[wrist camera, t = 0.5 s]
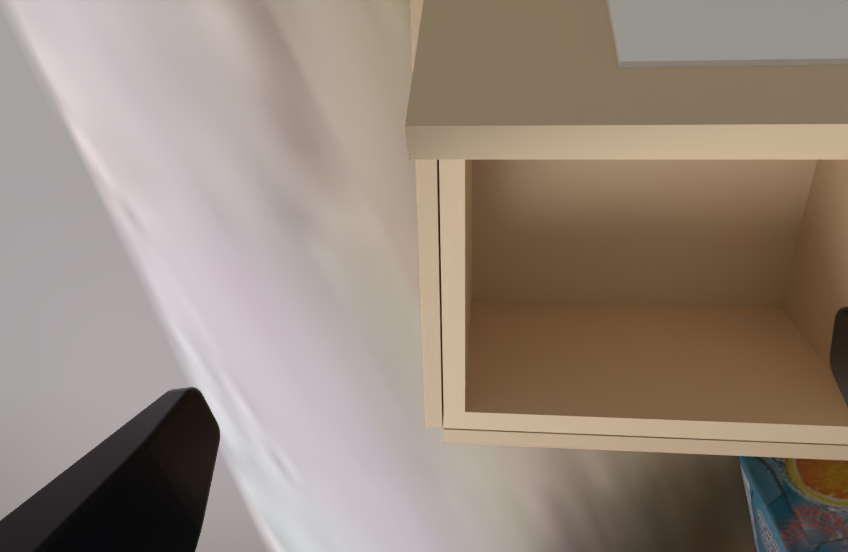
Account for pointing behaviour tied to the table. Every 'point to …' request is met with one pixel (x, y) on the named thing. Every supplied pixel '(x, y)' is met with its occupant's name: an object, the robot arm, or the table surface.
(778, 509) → the soda box
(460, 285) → the carton
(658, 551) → the table surface
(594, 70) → the carton flap
